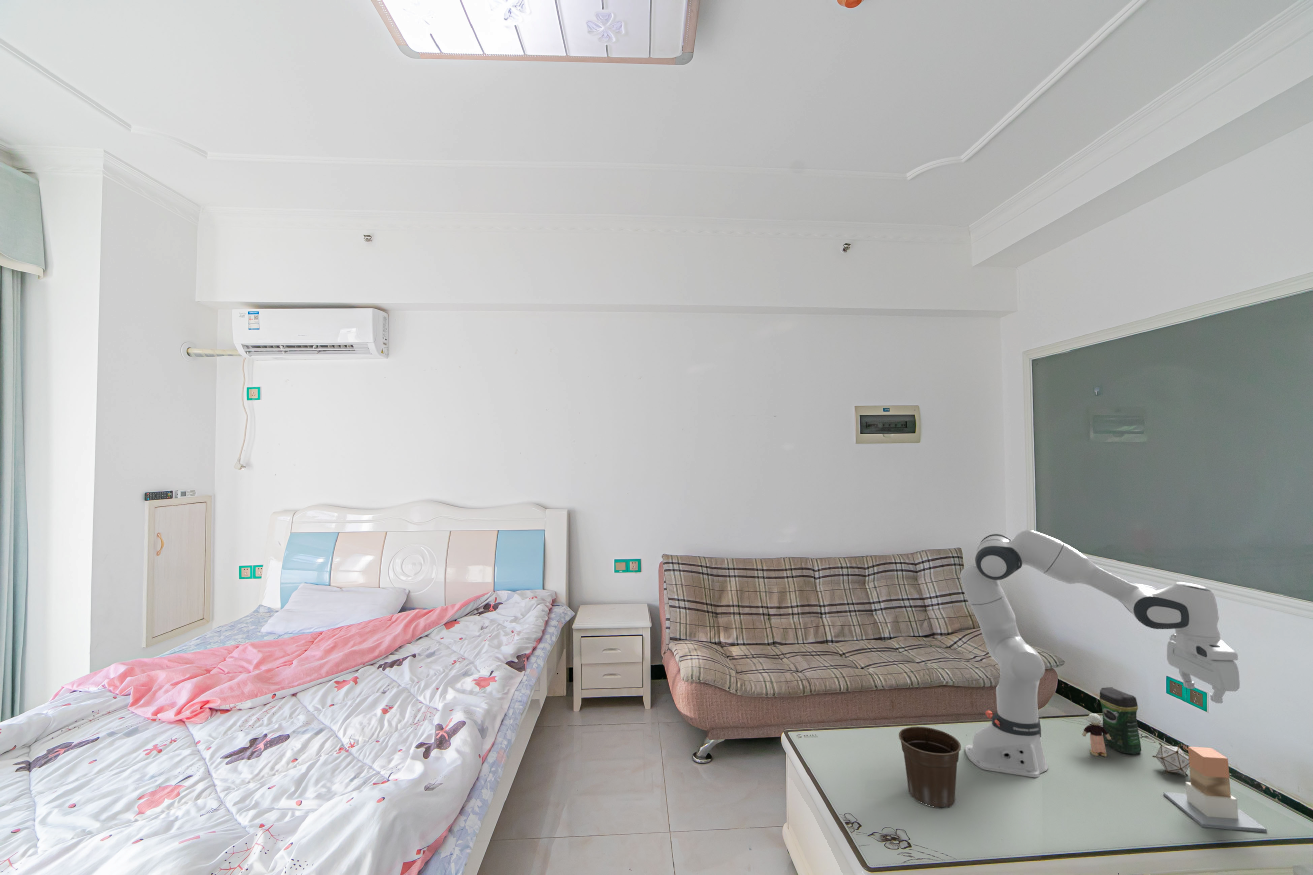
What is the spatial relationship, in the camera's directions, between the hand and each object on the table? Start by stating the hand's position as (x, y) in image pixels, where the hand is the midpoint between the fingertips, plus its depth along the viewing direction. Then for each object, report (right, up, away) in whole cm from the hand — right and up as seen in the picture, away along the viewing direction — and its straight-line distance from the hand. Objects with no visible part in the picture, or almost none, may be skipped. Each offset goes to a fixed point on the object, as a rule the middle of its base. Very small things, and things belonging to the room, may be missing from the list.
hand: (1202, 694), depth 149 cm
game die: (+9, -32, +17) cm, 37 cm away
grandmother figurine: (-5, -33, +29) cm, 44 cm away
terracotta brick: (+1, -20, -1) cm, 20 cm away
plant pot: (-69, -34, +9) cm, 78 cm away
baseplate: (+1, -31, -2) cm, 31 cm away
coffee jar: (+5, -33, +32) cm, 46 cm away
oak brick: (+1, -25, -1) cm, 25 cm away
